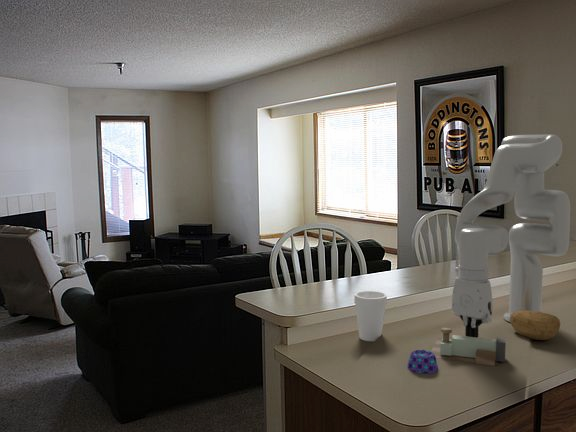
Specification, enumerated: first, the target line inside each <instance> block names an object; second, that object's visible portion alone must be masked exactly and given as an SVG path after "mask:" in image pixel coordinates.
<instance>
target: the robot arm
mask: <svg viewBox="0 0 576 432" xmlns="http://www.w3.org/2000/svg"><path fill="white" fill-rule="evenodd" d="M563 148H564V147H563V141H562V140H561V138H560V137H559V135H556V134H553V133H552V134H551V133H550V134H549V133H548V134H546V133H545V134H513V135H508V136H507V137H504V138H503V139H502V141H501V145H500V146H499V147H498V148H497V149H496V150H495V151H494V155H493V158H492V161H491V165H490V168H489V171H488V174H487V178H486V181H485V185H484V188H483V189H482V190H481V191H480V192H478V193H477V194H475V196H473V197H472V198H471V199H470V200H469V201H468V202H467V203H466V204H465V205H464V206H463V207H462V209H461V211H460V213H459V216H458V219H457V223H456V226H455V230H454V242H455V244H456V246H458V266H456V267H455V269H454V271H455V272H456V273H458V274H457V275H458V276H456V277H455V278H454V279H455V280H454V283H453V287H452V288H453V289H452V297H451V310H452V312H453V314H454V315H455V317H456V316H457V317H458V318H460V319H461V321H462V322H463V326H464V327H465V333H464V334H465V335H464V336H467V337H476V338H479V327H480V326H481V325H482V324H490V323H491V322H492V318H491V316H492V314H493V293H492V291H493V290H492V287H491V281H490V280H488V279H489V278H488V277H489V275H488V274H489V254H497V253H498V254H499V253H501V252H503V251H505V249H506V248H507V247H508V244H509V251H510V279H509V303H508V307H509V308H508V312H505V313H504V314H503V320H505V321H506V322H509V323H510V316H511V314H513V313H514V312H516V311H520V310H526V311H539V312H542V301H543V300H542V297H543V277H544V275H543V274H544V273H543V271H544V269H543V268H544V266H543V264H542V261H541V260H540V259H539V257H538V256H537V255H543V256H550V257H561V256H565V255H566V253H567V252H568V250H569V245H570V230H571V223H570V222H571V201H570V198H569V195H568V194H567V193H566V192H565V191H563V190H557V189H546V188H545V172H546V171H547V170H548V169H550V168H552V166H554V165H555V164H556V163H557V162H558V161H559V160H560V158H561V156H562V153H563ZM513 199H514V212H515V215H516V216H517V217H518V218H520V219H525V220H533V221H546V222H547V221H548V222H549V223H550V224H545V223H544V224H541V223H531V222H521V223H516V224H513V225H512V226H511V227H510V229H509V232H508V230H507V229H506V228H504V227H503V226H501V225H495V224H485V223H474V222H475V220H476V218H478V216H479V215H481V214H482V213H484V212H486V211H488V210H490V209H492V208H495V207H498V206H501V205H504V204H506V203H509V202H511V201H513Z"/></svg>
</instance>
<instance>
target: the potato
mask: <svg viewBox="0 0 576 432" xmlns="http://www.w3.org/2000/svg"><path fill="white" fill-rule="evenodd" d="M509 323H510V325H511V326H512V328H513V329H514V331H515V333H517V334H519V335H521V336H523V337H527V338H529V339H531V340H536V341H546V340H547V341H548V340H550V339H552V338H553V337H555V336H556V335H557V333H559V331H560V328H561V320H560V318H559V317H557V316H556V315H553V314H550V313H546V312H542V311H541V312H539V311H526V310H520V311H516V312H514V313H513V314H511V316H510V322H509Z"/></svg>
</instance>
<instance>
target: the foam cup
mask: <svg viewBox="0 0 576 432" xmlns="http://www.w3.org/2000/svg"><path fill="white" fill-rule="evenodd" d="M353 296H354V297H353V298H354V305H355V312H356V321H357V330H358V335H359V339H360V340H363V341H366V342H376V341H377V340H378V338H379V337H381V336H382V333H383V326H384V319H385V311H386V306H387V303H388V300H387V299H388V298H387V297H388V295H387V293H385V292H382V291H376V290H363V291H362V290H361V291H357V292H355V293H354V295H353Z"/></svg>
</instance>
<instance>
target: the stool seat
mask: <svg viewBox="0 0 576 432" xmlns="http://www.w3.org/2000/svg"><path fill="white" fill-rule="evenodd" d="M440 333H442V338H441V337H437V339H436V341H435V343H434V345H433V347H432V349H431V350H430V351H431V352H432V353H433V354H434V355H435V357H436V359H442V360H451V361H455V362H456V361H457V362H463V363H464V362H465V363H470V364H478V365H485V366H491V367H492V366H493V367H497V365H498V362H499V361H496V360H495V351H488V350H480V349H477V350H476V358H471V357H463V356H455V355H451V356H449V355H440V344H441V342H442V339H443V343H449V339H450V334H451V333H453V330H452V328H449V327H442V328H440ZM451 339H452V338H451ZM451 339H450V340H451Z"/></svg>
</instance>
